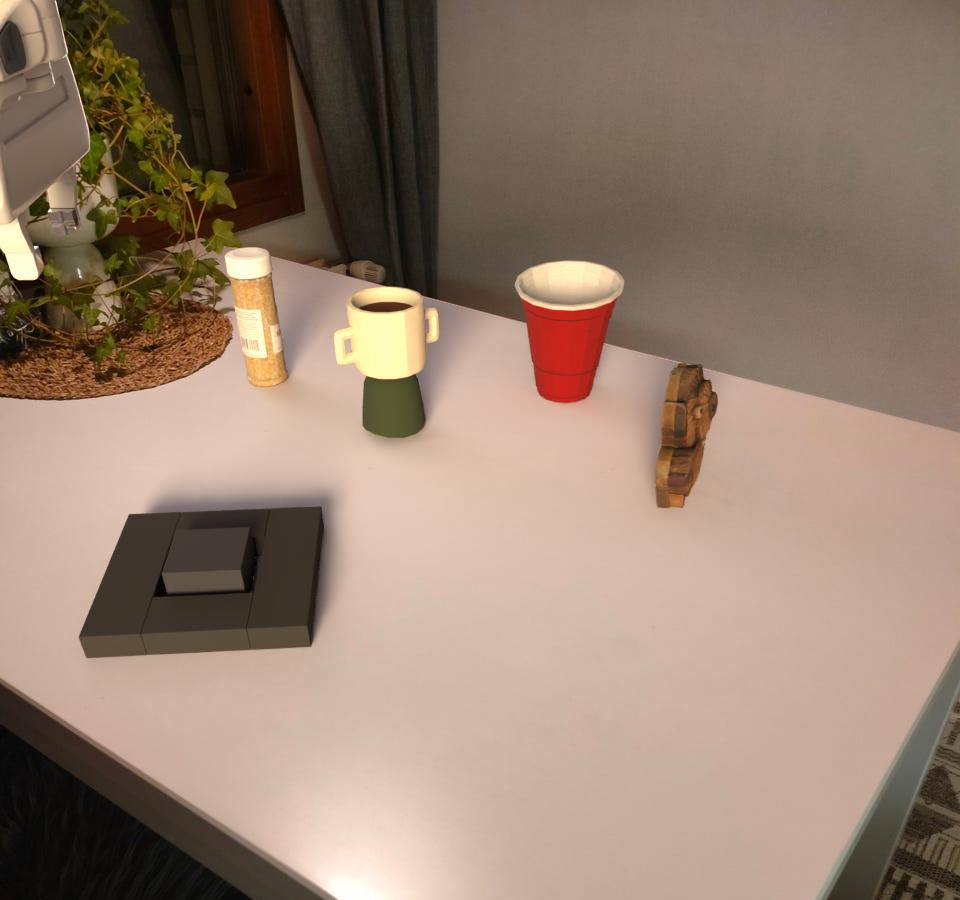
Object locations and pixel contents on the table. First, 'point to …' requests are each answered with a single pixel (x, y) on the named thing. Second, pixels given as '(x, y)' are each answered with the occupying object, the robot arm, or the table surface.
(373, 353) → the character mug
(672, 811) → the table surface
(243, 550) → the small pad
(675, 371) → the wooden carving
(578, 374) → the plastic cup
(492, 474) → the table surface
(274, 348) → the sprinkles bottle
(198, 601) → the base pad
